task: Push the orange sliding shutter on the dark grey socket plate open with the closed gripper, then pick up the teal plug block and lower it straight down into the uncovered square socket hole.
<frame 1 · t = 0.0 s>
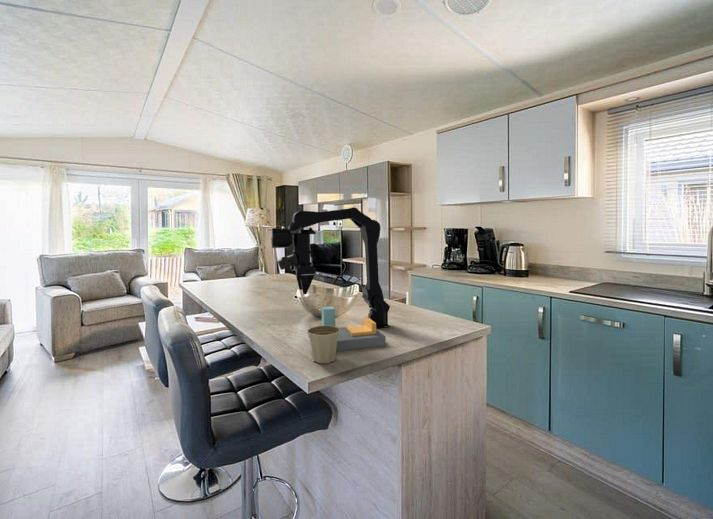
hand: (302, 291, 128), 15 cm above the table, tool pointing down, fingers open, 9 cm apart
socket plate: (348, 342, 118), on the table
plug: (328, 333, 128), on the table
shutter: (360, 326, 119), point 5 cm above the table, slide at 0.0 cm
flower pot: (324, 360, 103), on the table
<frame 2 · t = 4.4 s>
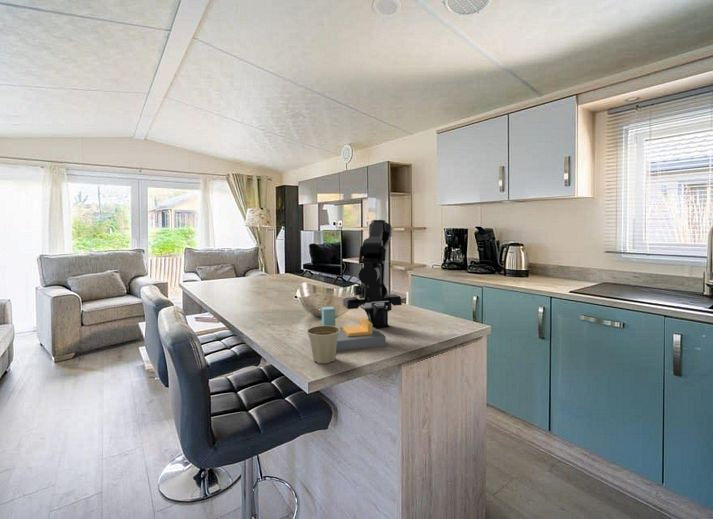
hand: (372, 327, 120), 4 cm above the table, tool pointing down, fingers closed
shutter: (356, 326, 119), point 5 cm above the table, slide at 1.3 cm, touching gripper
everything else where it was.
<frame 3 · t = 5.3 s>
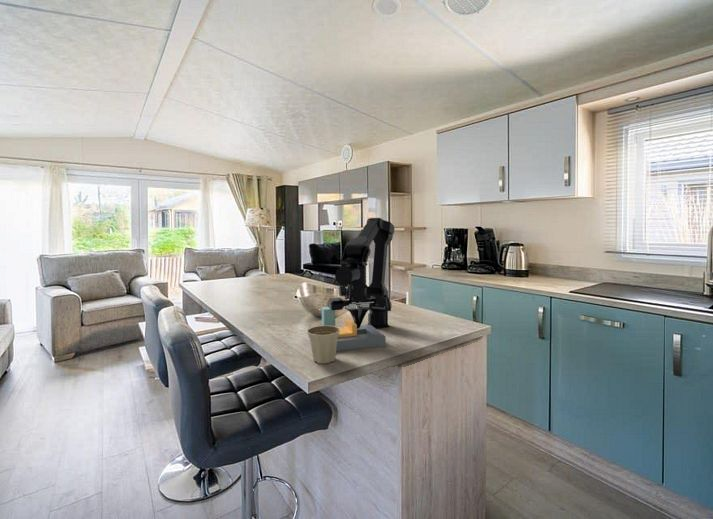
hand: (357, 328, 119), 4 cm above the table, tool pointing down, fingers closed
shutter: (341, 328, 117), point 5 cm above the table, slide at 6.5 cm, touching gripper
everything else where it was.
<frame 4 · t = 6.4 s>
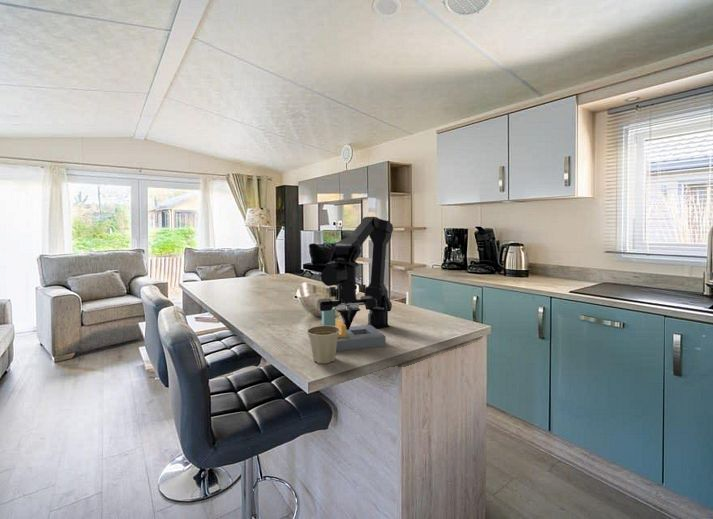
hand: (347, 329, 118), 4 cm above the table, tool pointing down, fingers closed
shutter: (330, 329, 116), point 5 cm above the table, slide at 10.0 cm, touching gripper
everything else where it was.
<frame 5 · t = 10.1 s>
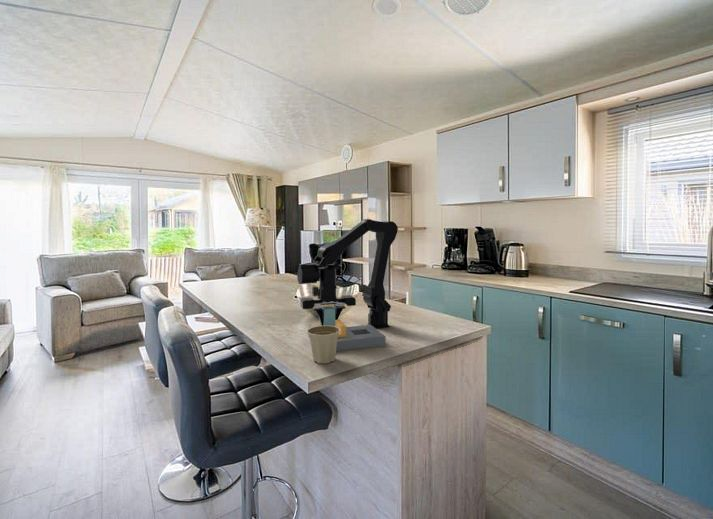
hand: (328, 325, 128), 3 cm above the table, tool pointing down, fingers closed on plug, 4 cm apart
plug: (328, 333, 128), on the table, touching gripper
shutter: (330, 329, 116), point 5 cm above the table, slide at 10.0 cm
everything else where it was.
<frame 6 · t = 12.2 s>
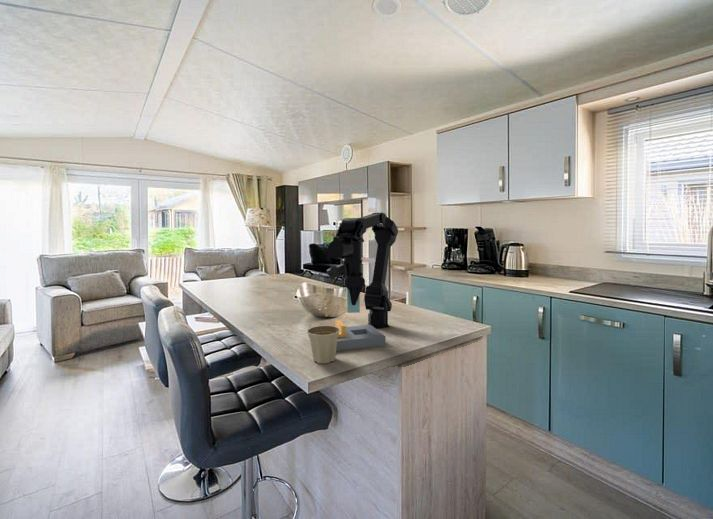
hand: (353, 303, 120), 12 cm above the table, tool pointing down, fingers closed on plug, 4 cm apart
plug: (353, 311, 120), point 9 cm above the table, touching gripper
everything else where it was.
when the fingers open (4 cm above the table, at t = 14.6 s): plug drops 1 cm, resting in socket plate.
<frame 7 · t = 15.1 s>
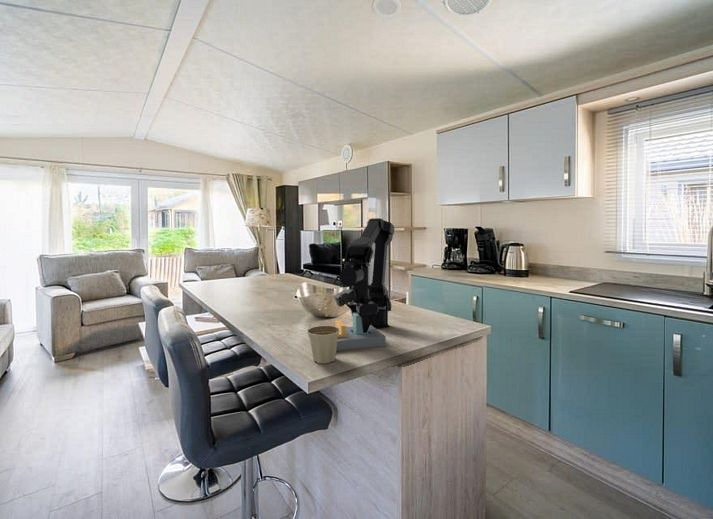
hand: (360, 328, 119), 4 cm above the table, tool pointing down, fingers open, 9 cm apart
plug: (360, 340, 119), resting in socket plate
everything else where it was.
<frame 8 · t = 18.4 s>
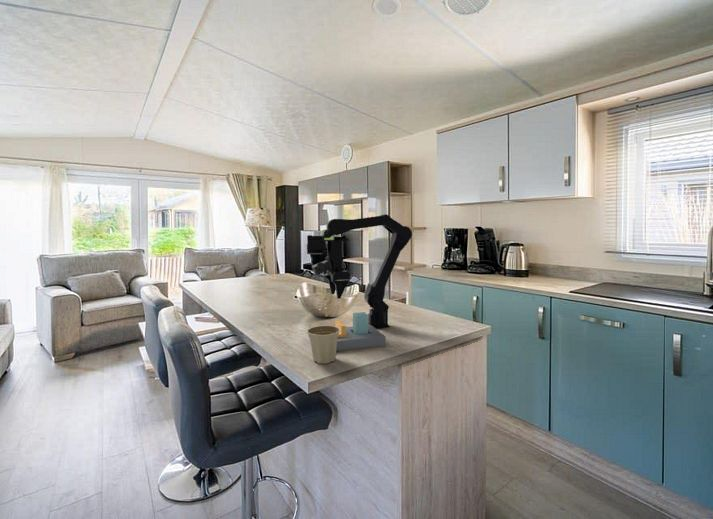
hand: (335, 296, 133), 12 cm above the table, tool pointing down, fingers open, 9 cm apart
nothing on the table moved.
at the end: shutter slide at 10.0 cm; plug 0.0 cm from the target spot on the socket plate, point 0.0 cm above the socket plate's base; plug tilted 0° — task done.
